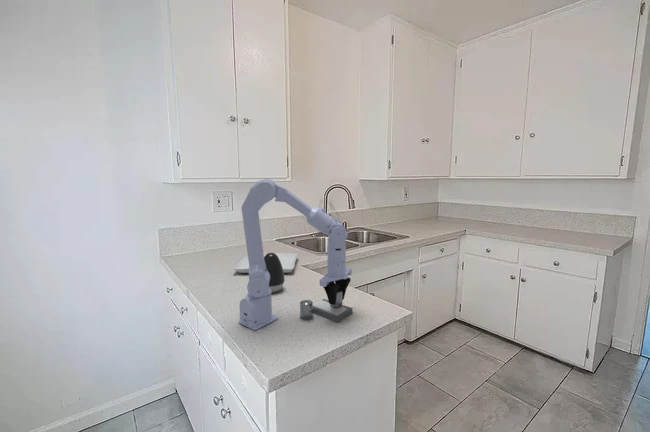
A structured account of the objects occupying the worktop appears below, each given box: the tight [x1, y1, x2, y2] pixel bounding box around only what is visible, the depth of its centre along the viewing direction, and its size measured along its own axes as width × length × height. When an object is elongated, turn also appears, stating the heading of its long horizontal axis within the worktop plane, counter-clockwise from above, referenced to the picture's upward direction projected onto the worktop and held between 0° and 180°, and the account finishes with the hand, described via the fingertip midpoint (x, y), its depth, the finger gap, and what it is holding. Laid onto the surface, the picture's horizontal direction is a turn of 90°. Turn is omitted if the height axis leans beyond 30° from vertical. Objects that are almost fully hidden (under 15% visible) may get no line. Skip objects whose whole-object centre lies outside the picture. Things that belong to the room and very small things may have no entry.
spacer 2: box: [330, 289, 343, 309], centre depth 100 cm, size 4×4×5 cm
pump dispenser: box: [264, 252, 286, 294], centre depth 121 cm, size 10×10×15 cm
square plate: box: [233, 252, 299, 274], centre depth 153 cm, size 27×27×4 cm
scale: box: [313, 298, 353, 323], centre depth 103 cm, size 8×12×2 cm, turn 52°
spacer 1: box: [299, 299, 314, 321], centre depth 100 cm, size 4×4×5 cm
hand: (336, 301), depth 100 cm, fingers closed on spacer 2, 4 cm apart
